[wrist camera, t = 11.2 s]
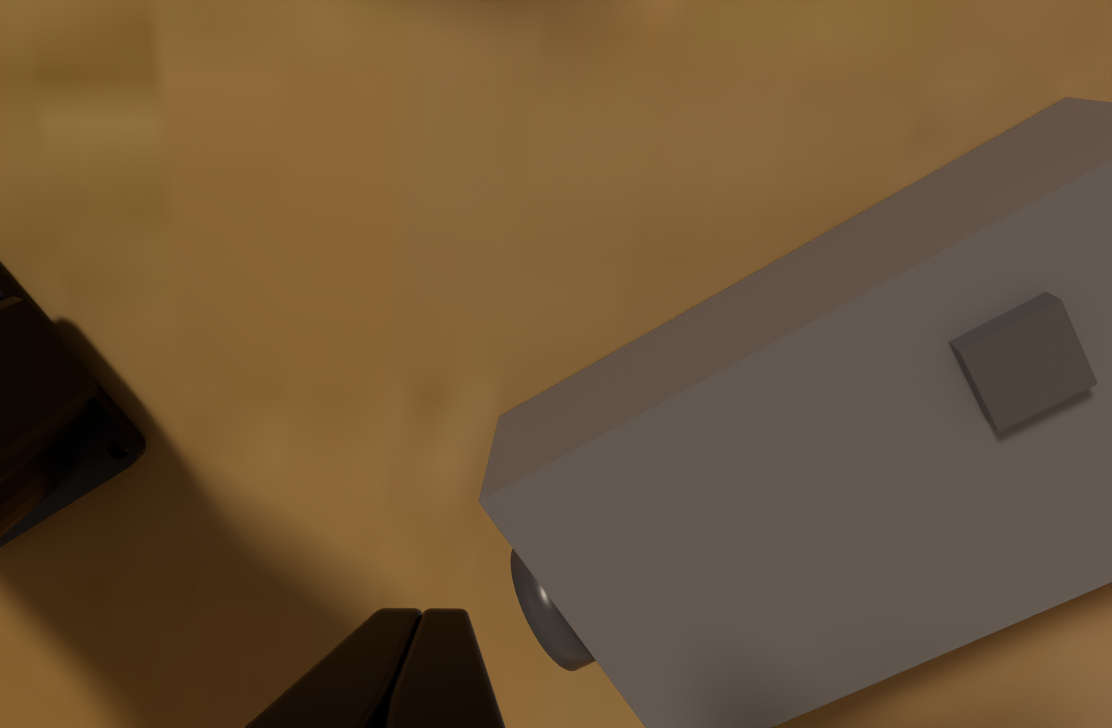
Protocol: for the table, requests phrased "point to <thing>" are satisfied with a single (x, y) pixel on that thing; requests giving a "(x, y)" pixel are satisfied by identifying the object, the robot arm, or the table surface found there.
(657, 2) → the table surface
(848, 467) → the block
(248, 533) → the table surface
